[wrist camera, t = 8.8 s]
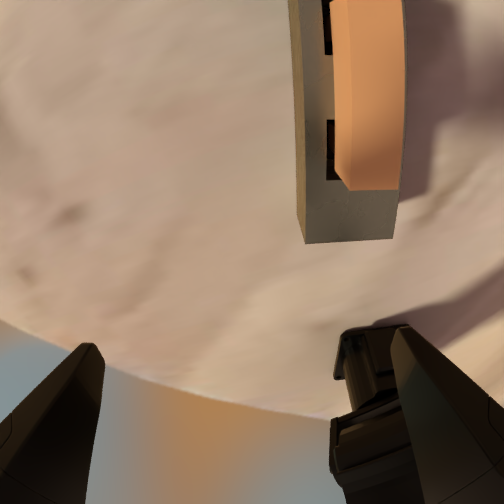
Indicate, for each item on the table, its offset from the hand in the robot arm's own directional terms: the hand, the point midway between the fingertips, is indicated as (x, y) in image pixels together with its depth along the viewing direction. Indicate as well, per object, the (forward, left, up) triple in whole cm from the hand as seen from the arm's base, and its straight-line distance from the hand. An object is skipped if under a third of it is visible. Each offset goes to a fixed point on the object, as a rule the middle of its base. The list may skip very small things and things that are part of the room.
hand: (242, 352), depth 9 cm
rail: (+6, -6, -12) cm, 14 cm away
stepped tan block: (+6, -6, -12) cm, 14 cm away
